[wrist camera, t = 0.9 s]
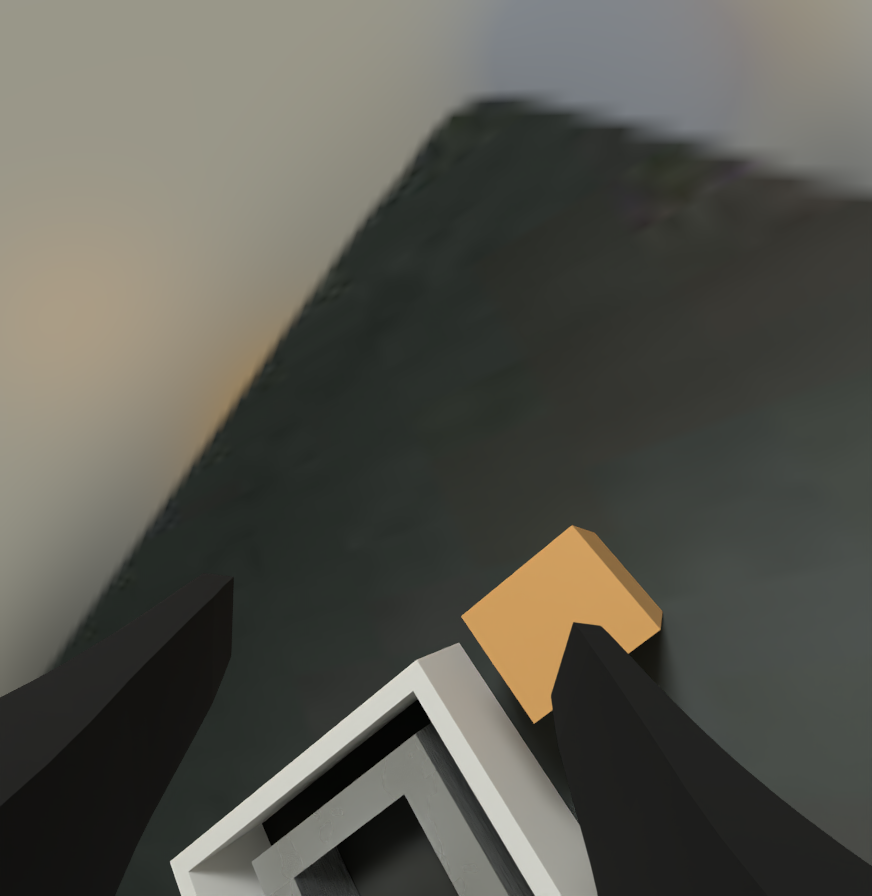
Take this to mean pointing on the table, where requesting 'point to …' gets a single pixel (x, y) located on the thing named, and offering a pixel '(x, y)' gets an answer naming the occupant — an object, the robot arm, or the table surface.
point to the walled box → (475, 752)
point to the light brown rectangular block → (558, 613)
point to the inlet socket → (437, 809)
